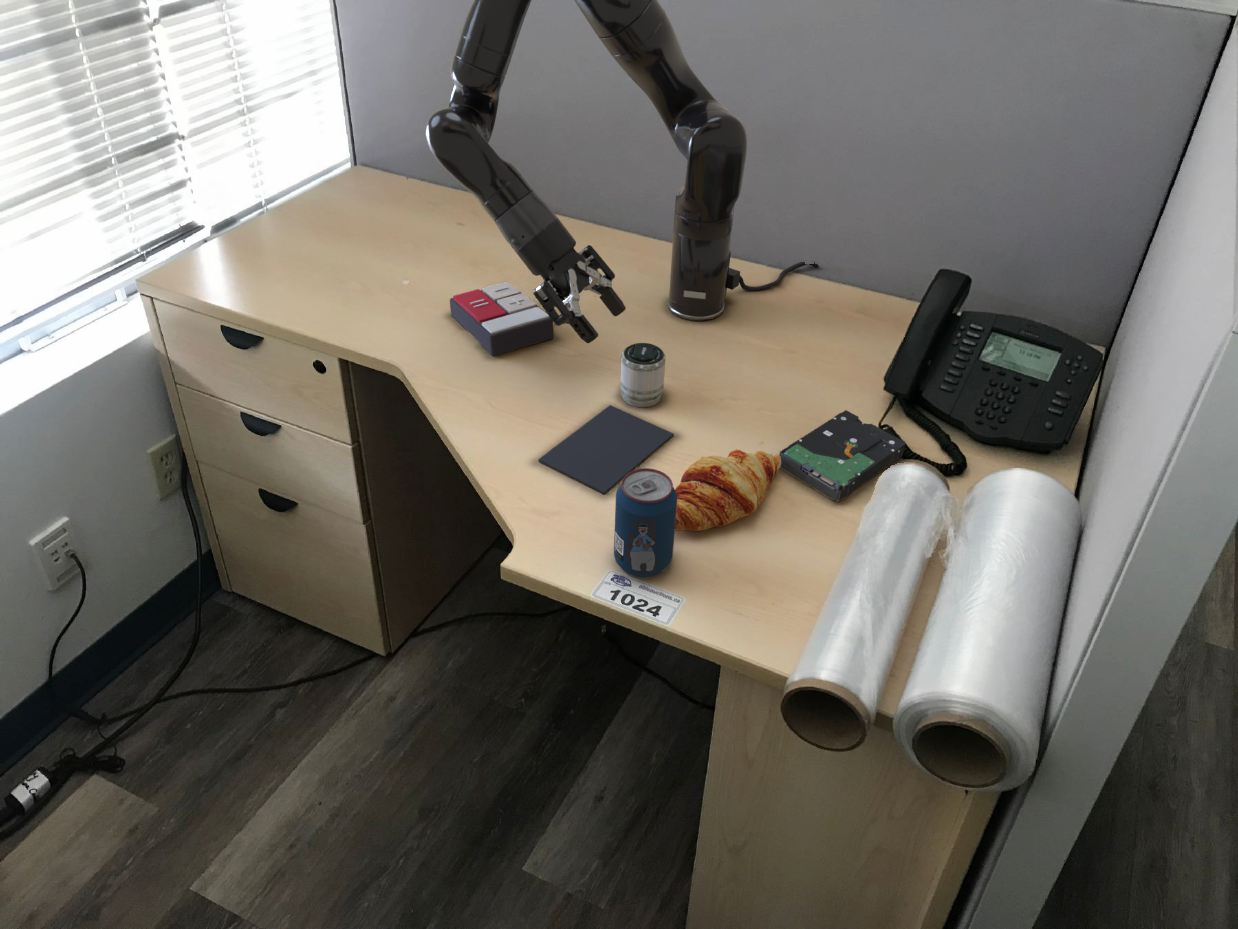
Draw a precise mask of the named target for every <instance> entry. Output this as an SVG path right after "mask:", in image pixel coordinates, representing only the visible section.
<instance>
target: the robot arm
mask: <svg viewBox="0 0 1238 929" xmlns="http://www.w3.org/2000/svg"><path fill="white" fill-rule="evenodd" d="M573 1H574V3H575V4H576V6H577V7H578V9H579V11H580V12H581V14H582V15H583V17H584V18H585V20H586V22H588V24H589V25H590V27H591V28H592V30H593V32H594V33H595V35H596V36H597V37H598V39H599V40H600V42H601V43H602V45H603V46H604V48H606V50H607V52H608V53H609V54H610V56H612V58H613V60H615V62H616V63H617V64H618V66H620V68H621V70H623V71H624V72H625V74H626V75H627V76H628V77H629V78H630V79H631V80H632V81H633V83H635V85H637V87H639V89H641V91H643V93H644V94H645V95H646V96H647V97H648V99H649V100H650V101H651V103H652V105H653V106H654V108H655V110H656V111H657V113H658V115H659V116H660V118H661V120H662V122H663V123H664V125H665V127H666V129H667V131H668V133H669V135H670V136H671V139H672V140H673V142H674V144H675V146H676V148H677V149H678V151H679V152H680V154H681V155H682V156H683V157H684V158H685V159H686V160H687V162H686V171H685V172H686V173H685V183H684V185H682V186H681V187H680V188H678V189H677V192H676V193H675V200H674V214H673V215H674V216H673V230H672V231H673V232H672V248H671V263H670V276H669V290H668V300H667V308H668V310H669V311H670V313H672V314H673V315H675V316H677V317H679V318H682V319H685V320H690V321H708V320H713V319H715V318H717V317H719V316H721V315H722V314H723V313H724V311H725V305H726V304H725V303H726V301H727V292H728V290H731V291H733V290H735V289H736V288H737V287H739V286H740V288H741V289H742V290H745V291H748V292H761V291H765V290H769V289H771V288H774V287H776V286H778V285H780V284H781V282H782V281H783V279H784V277H785V276H786V275H787V274H789V273H791V272H793V271H795V270H796V269H799V268H802V267H805V266H806V265H805V262H802V261H799V262H797V263H794V264H793V265H791V266H788V267H787V268H784V269H783V270H782V271H781V272H780V273H779V275H778V277H777V279H775V280H774V281H772V282H769V283H766V284H763V285H759V286H751V285H747V284H746V283H745V280H744V278H743V276H742V275H741V271H740V270H737V269H734V268H732V267H730V265H731V264H730V263H731V254H732V252H731V243H732V233H733V232H732V231H733V224H734V223H733V221H734V212H735V205H736V203H737V201H738V199H739V198H740V195H741V192H742V185H743V180H744V174H745V167H746V161H747V154H748V136H747V135H748V134H747V131H746V128H745V126H744V124H743V123H742V121H741V120H740V119H739V118H738V117H737V116H736V115H734V114H733V112H731V110H729V109H728V108H727V107H726V106H724V104H722V103H721V102H720V101H719V100H718V99H716V97H715V96H714V95H713V94H712V93H711V92H710V90H709V89H707V87H706V86H705V85H704V84H703V82H702V81H701V80H700V78H699V77H698V76H697V74H695V72H694V70H693V69H692V68H691V66H690V65H689V62H688V61H687V59H686V56H685V54H684V50H683V48H682V45H681V42H680V40H679V37H678V34H677V31H676V29H675V28H674V25H673V23H672V21H671V18H670V17H669V15H668V14H667V12H666V10H665V9H664V7H663V6H662V4H661V2H660V1H659V0H573ZM531 3H532V0H473V1H472V3H471V6H470V8H469V10H468V11H467V15H466V17H465V21H464V23H463V25H462V29H461V32H460V35H459V37H458V42H457V45H456V47H455V52H454V55H453V58H452V63H451V66H450V67H451V68H450V77H451V79H452V81H453V86H452V90H451V94H450V98H449V102H448V105H447V107H445V108H441V109H439V110H437V111H435V112H434V113H433V114H432V115H431V116H430V117H429V119H428V121H427V122H426V126H425V140H426V143H427V146H428V148H429V149H430V152H431V153H432V155H433V157H434V158H435V159H436V161H437V162H438V163H439V164H440V165H441V166H442V168H444V169H445V170H446V171H447V173H449V174H450V175H451V176H452V177H453V178H454V179H455V180H456V181H457V182H458V183H459V184H460V185H462V186H463V187H464V188H465V189H466V190H467V191H468V192H470V193H471V194H472V195H473V196H474V197H475V199H476V200H477V202H478V203H479V205H480V206H481V207H482V208H483V210H484V211H485V212H486V213H487V215H488V216H489V217H490V218H491V220H492V221H493V222H494V224H495V225H496V227H497V228H498V230H499V232H500V233H501V235H502V237H503V238H504V240H505V241H506V242H507V243H508V244H509V246H510V247H511V248H512V250H513V251H514V252H515V254H516V255H517V256H518V257H519V259H520V260H521V261H522V262H523V264H524V265H525V266H526V268H527V269H528V270H529V271H530V273H531V274H532V275H533V276H535V277H538V276H540V277H541V278H542V280H543V282H542V283H541V284H539V285H538V286H537V287H536V288H534V289H533V290H532V294H533V296H534V298H536V300H537V302H538V303H539V304H540V306H541V307H542V309H543V310H544V311H545V312H546V313H547V314H548V315H549V316H550V318H551V319H552V320H553V324H554V325H555V326H556V327H560V326H562V325H569V326H571V328H572V330H574V332H575V333H576V334H577V336H579V338H580V339H581V340H582V342H584V343H586V344H590V343H592V342H594V341H595V340H596V339H597V338H598V337H599V332H597V330H596V328H594V326H593V325H592V324H591V322H589V320H588V318H586V316H585V315H584V314H582V313H581V308H580V304H579V301H580V299H581V298H580V297H581V296H580V294H581V293H582V292H583V291H586V292H587V291H590V292H592V293H594V294H596V295H599V299H600V300H601V302H602V303H603V305H604V306H605V307H606V308H607V310H608V311H609V312H610V313H611V315H612V316H613V317H618V316H619V315H621V314H622V313H624V312H625V311H626V308H627V307H626V305H625V304H624V302H623V300H622V299H621V298H620V296H619V295H618V294H617V292H616V291H615V290H614V289H613V282H612V281H613V280H614V279H615V278H616V274H615V273H614V271H613V270H612V269H611V268H610V266H608V264H607V263H606V261H605V260H604V259H603V258H602V257H601V256H600V254H599V253H598V252H597V250H596V249H594V247H593V246H592V245H590V244H588V245H586V246H585V247H584V248H582V249H581V250H580V251H579V252H578V251H577V250H576V249H575V247H576V245H577V241H576V239H575V238H574V237H573V235H572V234H571V233H570V232H569V231H568V229H567V228H566V226H565V225H564V224H563V222H562V221H561V220H560V219H559V217H558V216H557V214H556V213H555V212H554V211H553V209H552V208H551V207H550V206H549V204H548V203H547V202H546V201H545V200H544V198H542V197H541V196H540V195H539V194H538V192H536V191H535V189H534V188H533V187H532V185H531V184H530V183H529V181H528V180H527V179H526V177H525V176H524V175H523V174H522V172H521V171H520V169H519V168H518V167H517V166H516V165H515V164H514V163H513V162H511V161H510V160H508V159H505V158H502V156H500V155H499V154H498V153H497V152H496V150H495V149H494V148H493V147H492V146H491V145H490V144H489V142H490V140H491V138H492V135H493V132H494V128H495V125H496V119H497V113H498V109H499V108H498V107H499V101H500V94H501V90H502V87H503V84H504V82H505V79H506V76H507V73H508V70H509V68H510V64H511V61H512V58H513V55H514V52H515V48H516V46H517V42H518V39H519V37H520V33H521V30H522V28H523V27H522V26H523V24H524V22H525V18H526V16H527V13H528V11H529V8H530V6H531ZM808 266H812V267H813V268H815V269H818V268H820V265H819V264H818V263H817V264H815V263H814V264H809V265H808ZM599 269H600V270H601V271H602V273H603V275H602V273H601V272H600V271H599ZM555 308H556V309H557V310H558V311H559V313H560V314H559V313H558V312H557V310H556V309H555Z"/></svg>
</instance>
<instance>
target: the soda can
mask: <svg viewBox="0 0 1238 929" xmlns="http://www.w3.org/2000/svg"><path fill="white" fill-rule="evenodd" d="M675 489H676V488H675V487H674V484H673V481H672V479H671V477H670V476H669V475H668V474H666V473H665V472H663V471H661V470H658V469H655V468H648V467H643V468H635V469H634V470H633V471H631V472H629V473H628V474H627V475H625V477H624V478H623V479H622V480H621V483H620V485H619V486H618V488H617V489H616V492H615V509H614V534H613V535H614V539H613V557H614V560H615V562H616V564H617V565H618V566H619V568H620V569H621V570H622V571H623V572H624V573H625V574H627V575H629V576H630V577H633V578H637V579H651V578H655V577H657V576H659V575H660V574H661V573H662V572H664V571H665V570H666V569H667V568H668V567H669V565H671V562H672V561H673V556H674V546H675V545H674V544H675V533H676V532H675V531H676V530H675V520H676V508H677V493H676V491H675Z"/></svg>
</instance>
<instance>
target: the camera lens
mask: <svg viewBox="0 0 1238 929" xmlns="http://www.w3.org/2000/svg"><path fill="white" fill-rule="evenodd" d="M666 357H667V356H666V354H665V352H664V351H663V349H662V348H661V347H659V346H658V345H655V344H653V343H648V342H637V343H633V344H630V345H629V346H627V347H626V348H624V350H623V351H622V353H621V357H620V359H621V360H620V396H621V397H622V399H623V401H624V402H625V403H626V404H627V405H630V406H632V407H636V408H650V407H653V406H655V405H657V404H658V403H659V402H660V400H661V398H662V395H663V390H664V387H665V386H664V385H665V372H666V360H667V358H666Z"/></svg>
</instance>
